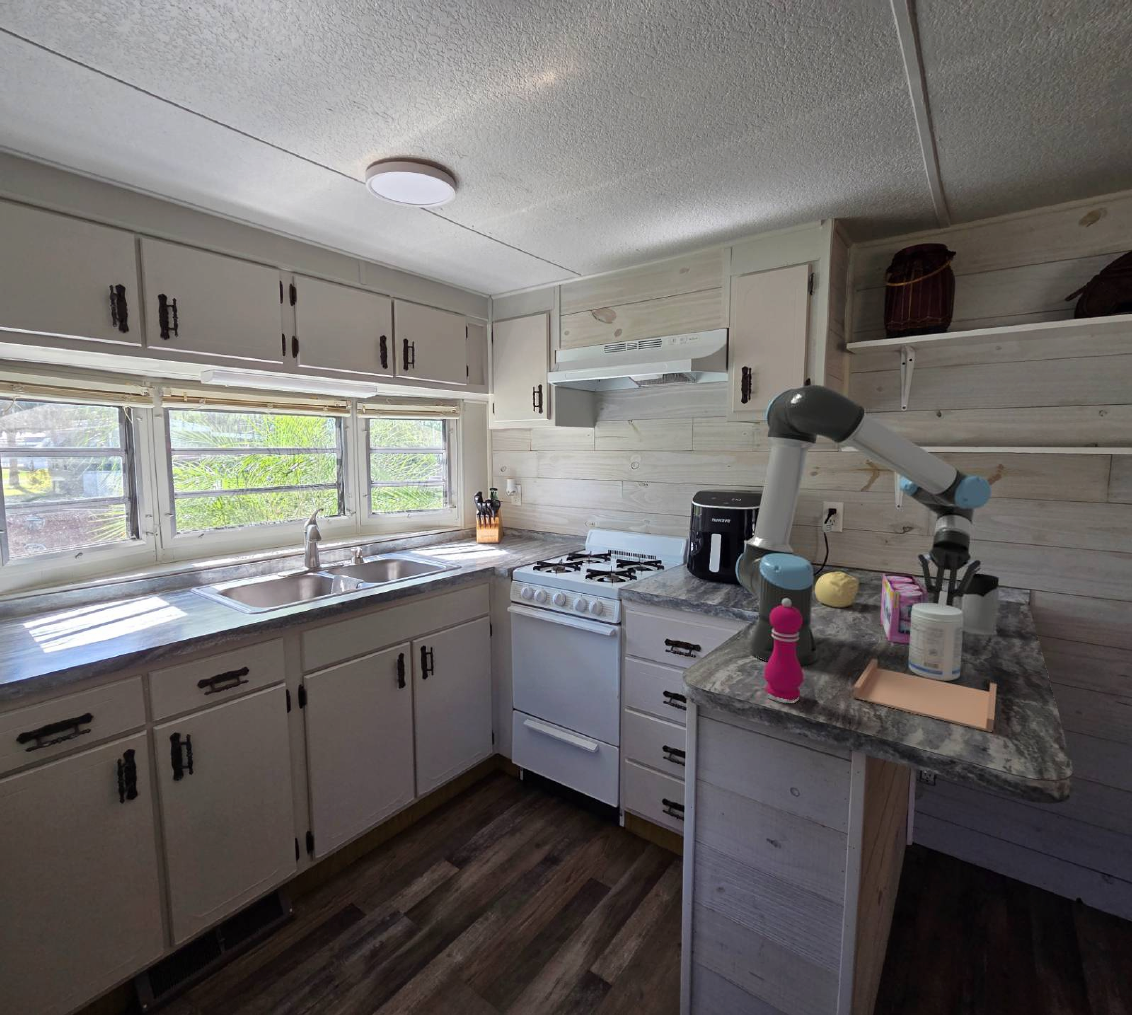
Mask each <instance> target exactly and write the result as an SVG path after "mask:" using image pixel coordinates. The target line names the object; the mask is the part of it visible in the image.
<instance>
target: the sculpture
mask: <svg viewBox="0 0 1132 1015" xmlns="http://www.w3.org/2000/svg"><path fill="white" fill-rule="evenodd" d="M859 584H860V582H859V580H858V579H857V578H855V577H854V576H852V575H850V574H847V573H846V572H842V571H835V572H834V571H833V572H827V573H825V574H822V575H821V576H820V577H819V578H818V580H817V581H816V583H815V587H814V593H815V597H816V599H817V600H818V602H820V603H822V604H825V605H826V606H830V607H832V608H833V607H835V608H846V607H849V606H851V605H852V604H853V603H854V601H855V597H856V595H857V593H858V591H859Z"/></svg>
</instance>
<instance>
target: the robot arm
mask: <svg viewBox="0 0 1132 1015" xmlns="http://www.w3.org/2000/svg"><path fill="white" fill-rule="evenodd" d="M765 421H766V425H767V427H768V434H767V437H766V440H767V441H768V442H769V444H770V445H771V449H770V454H769V459H768V463H767V470H766V474H765V478H764V479H765V480H764V485H763V490H762V493H761V494H762V495H761V497H760V498H761V499H760V503H759V509H758V514H757V519H756V525H755V528H754V529H755V530H754V533H753V534H754V535H753V536H752V538H750V539H748V540H747V541H746V543H745V548H744V552H743V553H741V554H740V556H739V557H738V559H737V561H736V564H735V574H736V579H737V581H738V582H739V583H740V585H741V586H742V588H744V590H745V591H747V592H748V593H750V594H751V595H753V596H755V597H756V598H758V600H759V601H758V619H757V623H756V625H755V628H754V630H753V633H752V635H751V637H750V638H751V639H750V641H749V652H751V653H752V654H754V655H755V656H757V657H759V658H762V659H764V660H766V661H765V662H767V661H769V659H770V657H771V655H772V653H773V650H774V638H773V637H772V629H773V628H774V627H773V626H772V625H771V623H770V614H771V611H772V610H773V609H774V608H776V607H778V606H782V600H783V599H785V598H788V599H790V600H791V607H794V608H796V609H797V610H798V611H799V612H800V613H801V615H802V621H803V622H802V625H801V627H800V628H799V629H798V630H797V631H798V632H799V635H798V637H799V639H798V640H797V641H796V656H797V659H798V661H799V664H800V666H807V665H812V664H814V663H815V662H816V661H817V660H818V646H817V643H816V639H815V636H814V634H813V628H812V627H811V625H812V623H811V621H812V607H813V606H812V604H813V603H812V602H813V590H814V589H813V588H814V587H813V586H814V584H813V583H814V579H815V578H814V569H813V565H812V564H811V562H810V561H809V560H807V559H806V558H803V557H801V556H799V555H793V553H794V549H793V548H792V547H791V546H790V544H789V542H790V537H791V532H792V531H791V530H792V526H793V522H794V517H795V512H796V507H797V504H798V503H797V502H798V497H799V493H800V489H801V488H800V487H801V483H802V478H803V475H804V474H803V473H804V469H805V463H806V460H807V454H808V451H809V450H811V449H812V448H813V447H815V446H816V442H817V437H818V436H821V437H824V438H827V439H829V440H830V441H833V442H834V443H836V444H843V443H845V444H847V445H848V446H850V447H852V448H853V449H855V450H856V451H859V452H861V454H864V455H865V456H866V457H868V458H871V459H872V460H873V461H876V462H877V463H879V464H880V465H883V466H884V467H885V468H887V469H889V470H891V471H892V472H894V473H896V474H898V475H899V476H900V479H899V482H898V487H899V489H900V490H901V491H902V492H903V493H905V495H907V496H908V497H911V498H912V499H913V500H914V501H916V502H918V503H919V504H921V505H923V506H924V507H926V508H927V509H929V510H930V511H931V512H933V513H935V514H936V515H937V516H936V522H935V529H934V536H933V541H932V546H931V549H930V550H929V552H928V553H927V554H924V555H923V554H918V556H917V558H918V564H919V565H920V567H921V568H922V574H923V579H924V586H925V591H926V593H928V594H932V595H933V598H932V603H935V604H943V605H948V606H952V607H954V600H955V597H959V598H962V597H963V596H964V594H965V592H966V590H967V588H968V586H969V584H970V582H971V580H972V578H973V576H974V574H975V573H977V572H978V571H980V570H981V564H982V563H981V560H979V559H976V560H974V559H973V558H972V557H971V554H970V546H971V545H970V544H971V536H972V528H973V519H974V512H975V509H979V508H981V507H984V506H986V504H987V503H988V502H989V500H990V499H991V496H992V487H991V484H990V482H989V481H987V479H985V478H983V477H980V476H976V475H967V474H965V472H962V471H961V470H959V469H957V468H955V467H953V466H952V465H950V464H948V463H946V461H944V460H941V459H940V458H939V457H937V456H935V455H934V454H932V453H930V452H929V451H927V450H926V449H925V448H924V449H923V448H922V447H920V446H918V445H917V444H915V443H913V442H912V441H910V440H909V439H908V438H906V437H904V436H902V435H901V434H899V433H897V432H895V431H894V430H892V429H891V428H889V427H888V426H886V425H884V424H882V423H880V421H877V420H876V419H874V418H872V417H871V416H869V415H867V411H866V408H865V407H864V406H862V405H860V404H859V403H857V402H855V401H854V400H852V399H850V398H849V397H847V396H846V395H843V394H842V393H840V392H838V391H836V390H835V389H832V388H830V387H827V386H825V385H820V384H819V385H818V384H809V385H805V386H801V387H798V388H791V389H787V390H784V391H782V392H780V393H779V394H777V395H776V396H775V397H773V399H772V400H771V401H770V402H769V404H768V406H767V409H766V411H765ZM930 560H931V561H930ZM930 562H932V563H933V565H935V567H936V568H937V569H936V571H937V572H936V576H935V583H934V584H935V585H933V584H932V578H931V573H930V568H929V564H930ZM966 565H967V569H966V571H965V573H964V575H963V576H962V579H961V581H960V583H958V588H957V589H956V580H957V576H958V570H960V569H962V568H963V567H965V566H966ZM947 570H948V571H949V575H950V577H949V579H948V585H947V591H944V590H943V583H944V582H943V581H944V579H943V577H944V576H945V571H947ZM941 590H943V591H941ZM751 653H750V654H751ZM752 654H751V655H752ZM754 655H753V656H754ZM755 656H754V657H755ZM757 657H756V658H757ZM759 658H758V659H759ZM764 660H763V661H764Z"/></svg>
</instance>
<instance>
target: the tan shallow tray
mask: <svg viewBox="0 0 1132 1015" xmlns="http://www.w3.org/2000/svg"><path fill="white" fill-rule="evenodd" d="M878 663H879V662H878V659H877V658H876V659H875V658H872V659H871V661H869V664H868V665H867V666H866V668H865V669H864V670H863V672H862V673H861V675H860V676H859V678H858V680H857V681H856V683H855V684H854V686H853V692H852V693H853V694H852V698H853V697H855V698H859V699H862V700H867V701H868V702H874V703H876V704H881V705H884V706H887V707H886V708H888V707H891V708H890V709H892V708H895V709H894V710H896V709H900V710H903V711H902V712H904V711H905V713H908V712H910V713H909V714H912V713H913V714H912V715H916V714H919V715H918V716H920V715H922V716H921V717H924V716H929V717H932V718H934V720H936V719H941V720H944V721H949V722H953V723H956V724H961V725H964V726H970V727H974V728H977V729H983V730H987V731H993V732H994V724H995V712H996V700H997V699H996V698H997V685H998V684H997V683H992V682H989V691H985V690H981V689H977V688H972V687H967V686H963V685H959V684H953V683H948V682H945V681H941V680H934V679H929V678H925V677H922V676H918V675H911V674H908V673H902V672H898V671H894V670H888V669H883V668H880V667H878ZM868 702H867V703H868ZM876 704H875V705H876ZM884 706H883V707H884ZM900 710H899V711H900ZM932 718H931V719H932ZM944 721H943V722H944ZM956 724H955V725H956ZM964 726H963V727H964Z"/></svg>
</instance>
